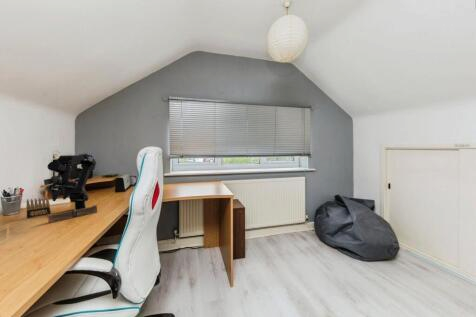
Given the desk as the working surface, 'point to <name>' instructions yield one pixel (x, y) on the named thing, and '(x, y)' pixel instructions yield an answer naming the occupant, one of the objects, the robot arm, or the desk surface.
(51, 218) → the fence gate
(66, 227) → the desk surface
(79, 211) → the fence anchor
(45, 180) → the robot arm
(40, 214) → the ammunition clip
